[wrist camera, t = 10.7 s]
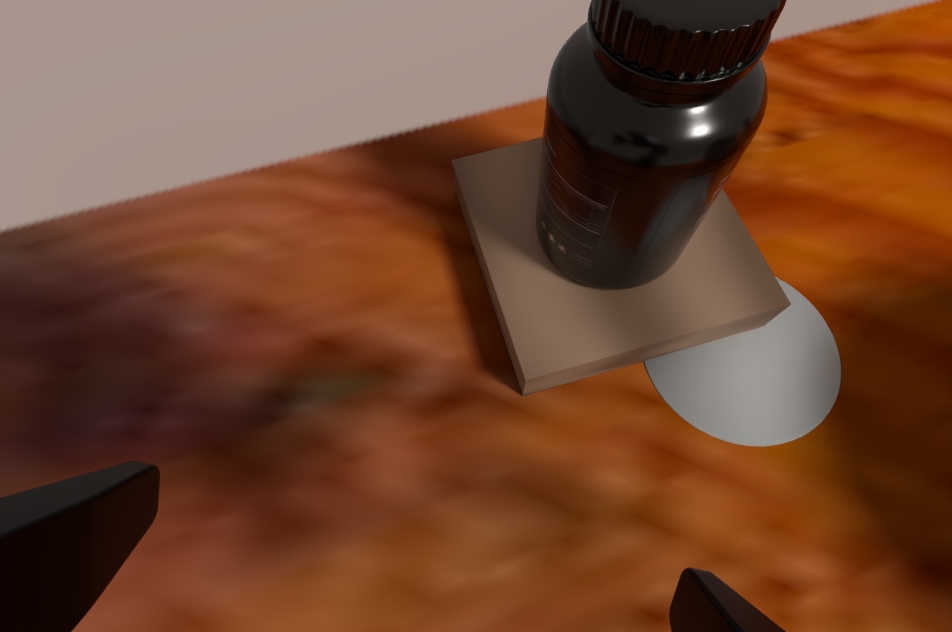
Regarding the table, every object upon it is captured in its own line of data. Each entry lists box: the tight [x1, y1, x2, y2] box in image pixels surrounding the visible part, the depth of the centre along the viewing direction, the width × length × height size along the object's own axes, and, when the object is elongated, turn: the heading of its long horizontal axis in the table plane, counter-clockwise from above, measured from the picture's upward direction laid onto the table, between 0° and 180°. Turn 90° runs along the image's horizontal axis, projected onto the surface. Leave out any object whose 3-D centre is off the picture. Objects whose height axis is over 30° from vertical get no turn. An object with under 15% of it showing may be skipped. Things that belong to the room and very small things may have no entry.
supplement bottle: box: [536, 0, 786, 290], centre depth 18 cm, size 7×7×12 cm
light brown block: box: [452, 137, 791, 396], centre depth 25 cm, size 12×12×2 cm
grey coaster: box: [644, 277, 841, 446], centre depth 24 cm, size 9×9×1 cm
